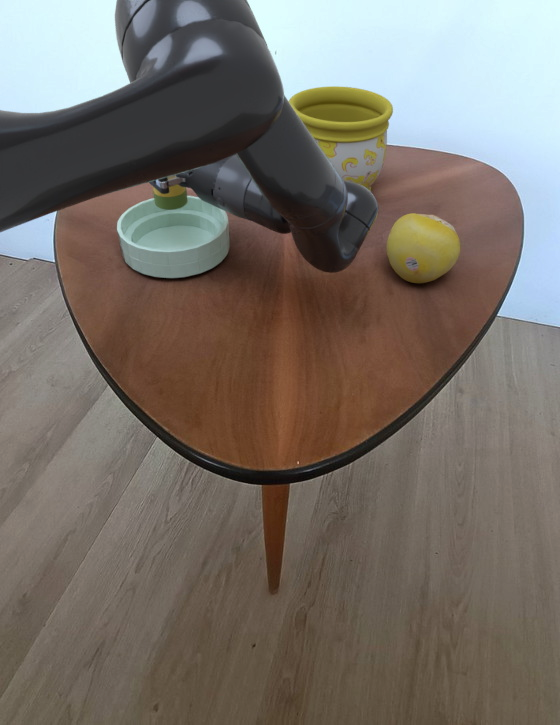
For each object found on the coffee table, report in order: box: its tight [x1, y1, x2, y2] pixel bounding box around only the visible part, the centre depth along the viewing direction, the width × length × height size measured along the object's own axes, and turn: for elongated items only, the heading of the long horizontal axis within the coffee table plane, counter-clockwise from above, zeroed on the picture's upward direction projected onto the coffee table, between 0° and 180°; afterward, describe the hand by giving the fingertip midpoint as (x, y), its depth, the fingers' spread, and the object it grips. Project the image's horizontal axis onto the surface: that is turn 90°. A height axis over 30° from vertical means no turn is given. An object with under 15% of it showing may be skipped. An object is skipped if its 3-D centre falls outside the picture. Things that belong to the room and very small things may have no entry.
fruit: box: [386, 212, 461, 284], centre depth 83 cm, size 10×11×10 cm
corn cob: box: [152, 185, 188, 210], centre depth 80 cm, size 5×5×14 cm
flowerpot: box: [288, 85, 394, 193], centre depth 100 cm, size 18×18×16 cm
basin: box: [116, 195, 231, 279], centre depth 89 cm, size 17×17×6 cm
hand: (152, 148), depth 80 cm, fingers closed on corn cob, 5 cm apart
